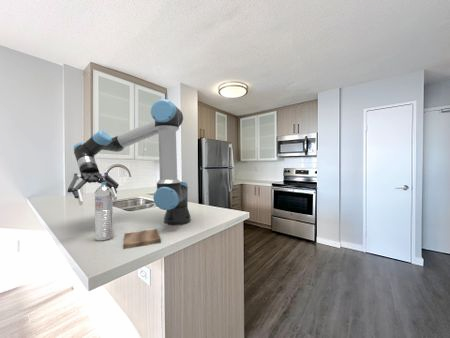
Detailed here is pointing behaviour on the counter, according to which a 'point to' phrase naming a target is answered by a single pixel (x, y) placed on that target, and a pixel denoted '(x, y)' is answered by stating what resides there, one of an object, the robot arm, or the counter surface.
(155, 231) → the walnut board
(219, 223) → the counter surface
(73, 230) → the counter surface
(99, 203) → the water bottle
